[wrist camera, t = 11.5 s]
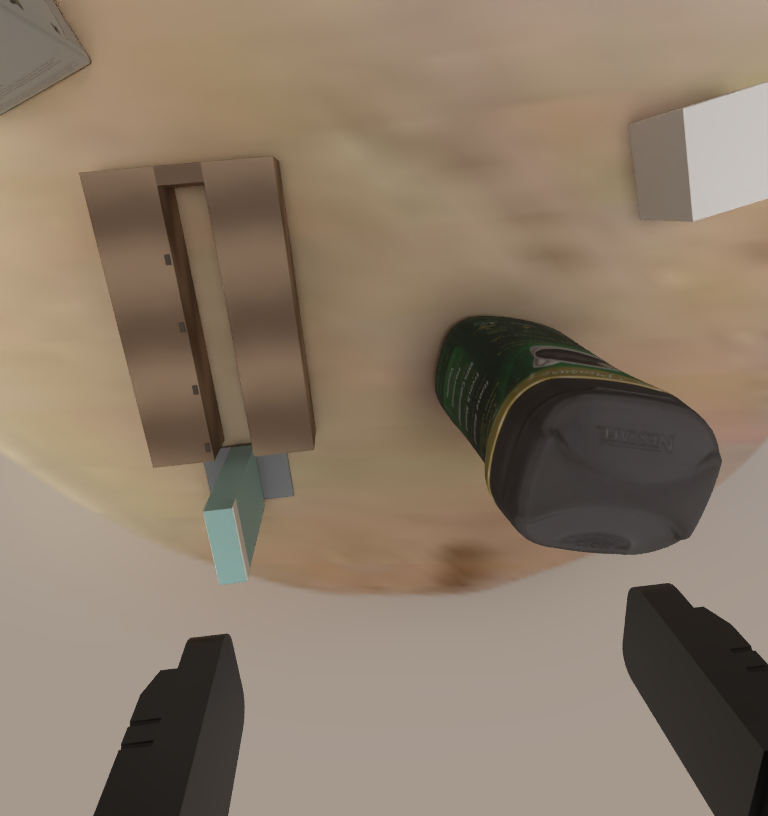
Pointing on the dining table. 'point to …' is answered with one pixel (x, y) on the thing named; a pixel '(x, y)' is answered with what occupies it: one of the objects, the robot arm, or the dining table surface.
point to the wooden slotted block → (178, 312)
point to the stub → (235, 515)
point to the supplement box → (34, 50)
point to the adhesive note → (702, 157)
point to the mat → (270, 473)
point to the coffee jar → (575, 440)
